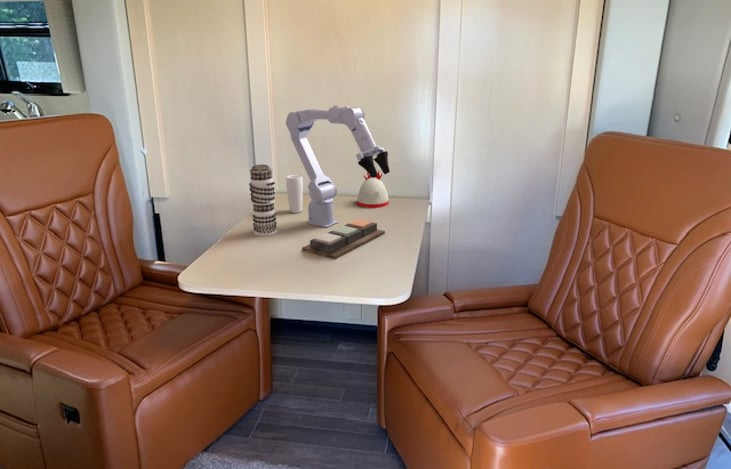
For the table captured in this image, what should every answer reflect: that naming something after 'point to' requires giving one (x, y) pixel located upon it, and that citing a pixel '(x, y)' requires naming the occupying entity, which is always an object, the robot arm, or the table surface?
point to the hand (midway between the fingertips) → (381, 175)
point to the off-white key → (328, 238)
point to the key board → (344, 242)
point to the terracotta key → (360, 223)
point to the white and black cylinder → (263, 200)
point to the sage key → (345, 230)
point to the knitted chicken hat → (373, 193)
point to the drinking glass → (295, 192)
